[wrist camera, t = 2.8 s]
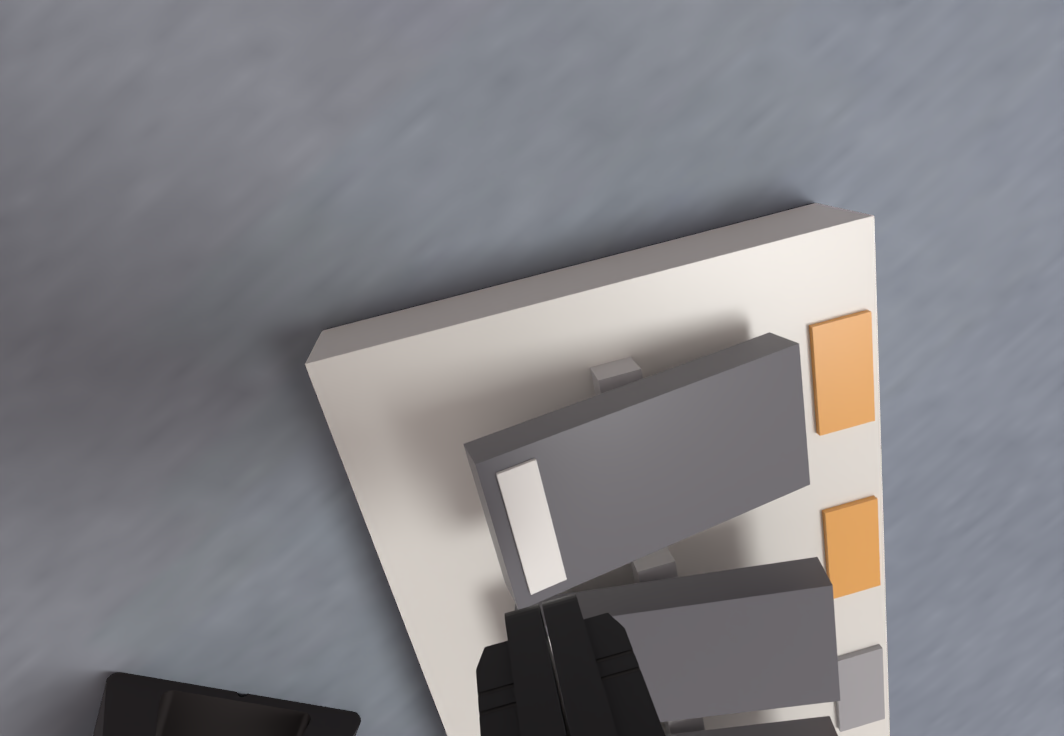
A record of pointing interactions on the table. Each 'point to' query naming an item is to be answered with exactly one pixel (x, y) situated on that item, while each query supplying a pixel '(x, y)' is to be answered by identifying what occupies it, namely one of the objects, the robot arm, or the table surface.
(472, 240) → the table surface
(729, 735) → the block
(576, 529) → the rocker
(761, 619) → the block
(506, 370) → the switch unit
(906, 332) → the table surface
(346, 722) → the phone stand
